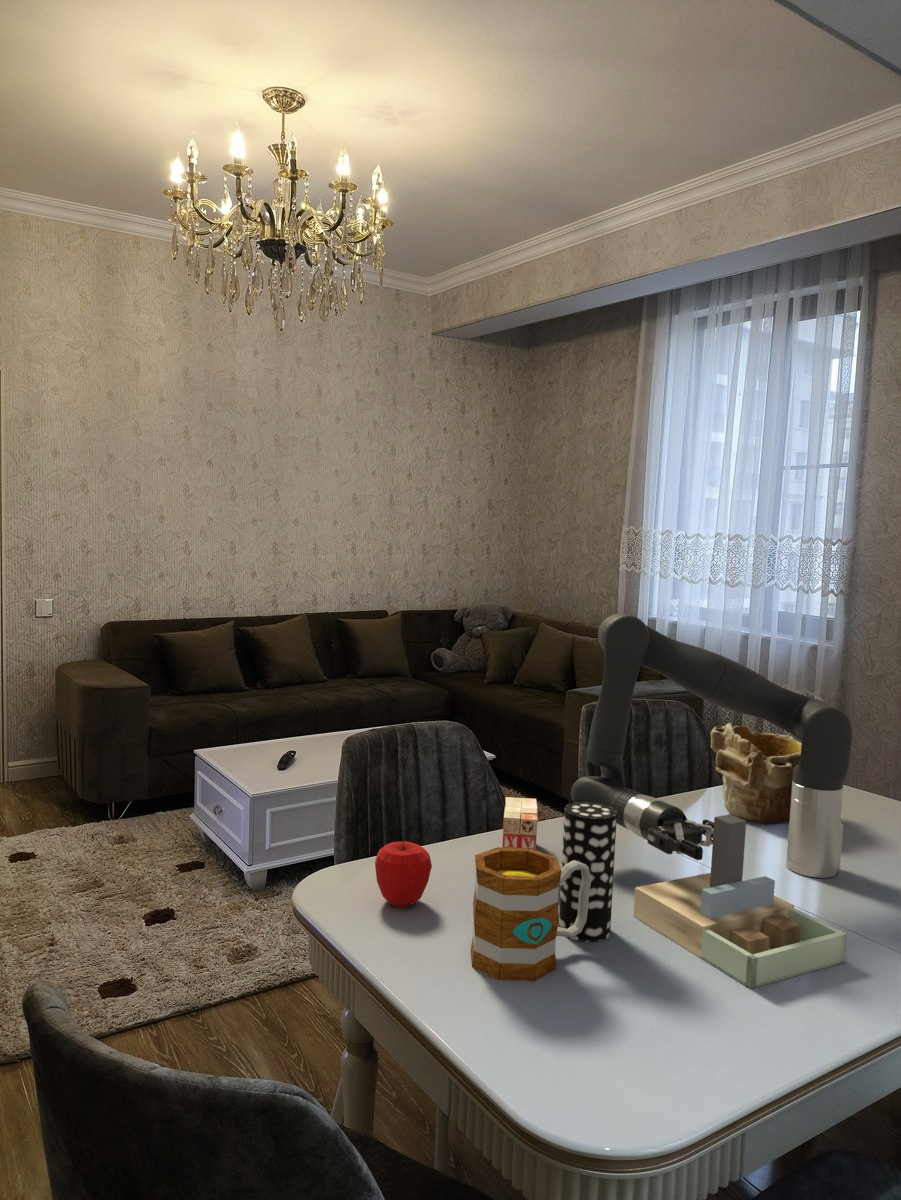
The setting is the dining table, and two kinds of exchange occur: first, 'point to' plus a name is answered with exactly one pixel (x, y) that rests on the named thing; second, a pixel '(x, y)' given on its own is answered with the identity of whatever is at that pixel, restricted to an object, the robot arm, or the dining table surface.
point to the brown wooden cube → (749, 939)
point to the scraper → (732, 873)
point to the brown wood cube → (781, 931)
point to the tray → (778, 954)
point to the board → (694, 912)
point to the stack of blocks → (520, 823)
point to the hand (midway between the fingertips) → (720, 850)
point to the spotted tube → (594, 846)
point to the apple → (402, 872)
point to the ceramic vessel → (756, 772)
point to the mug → (521, 912)
